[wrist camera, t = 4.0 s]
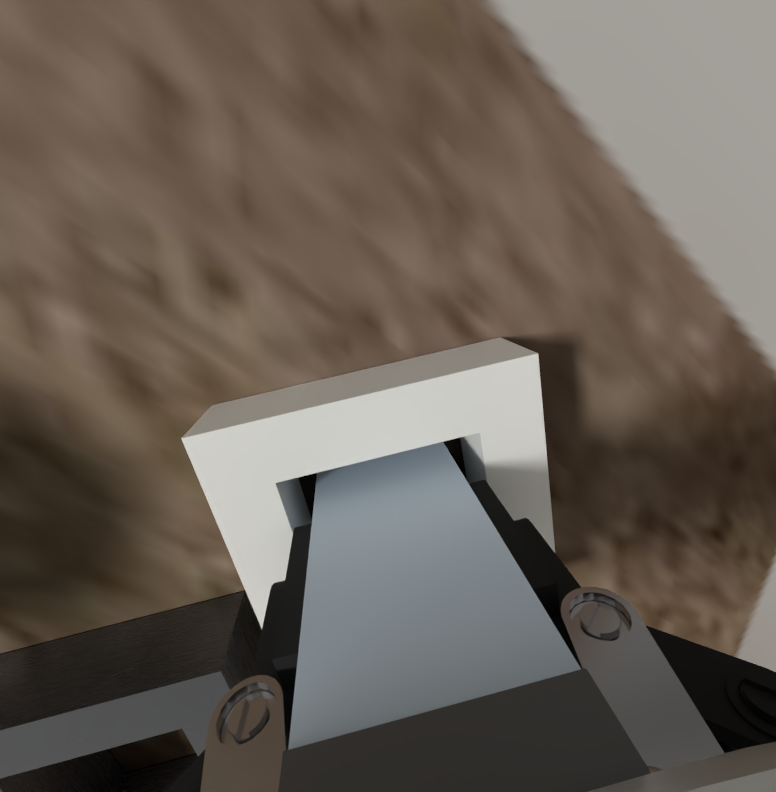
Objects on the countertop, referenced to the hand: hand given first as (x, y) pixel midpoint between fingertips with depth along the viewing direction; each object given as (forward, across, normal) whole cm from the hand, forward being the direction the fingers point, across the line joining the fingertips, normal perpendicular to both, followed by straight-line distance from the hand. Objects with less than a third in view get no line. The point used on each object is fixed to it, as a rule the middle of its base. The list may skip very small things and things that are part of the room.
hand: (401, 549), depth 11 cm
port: (+3, +10, +7) cm, 13 cm away
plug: (+3, 0, 0) cm, 3 cm away
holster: (+3, 0, 0) cm, 3 cm away
